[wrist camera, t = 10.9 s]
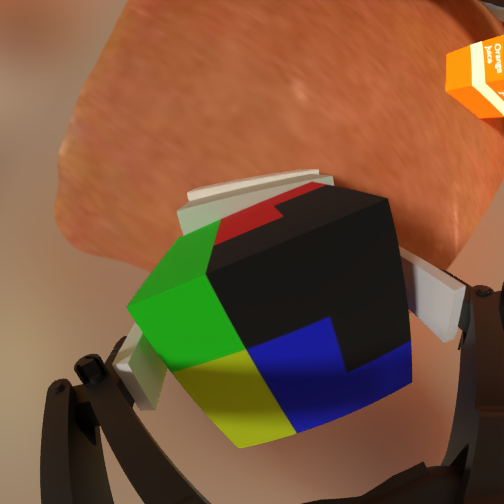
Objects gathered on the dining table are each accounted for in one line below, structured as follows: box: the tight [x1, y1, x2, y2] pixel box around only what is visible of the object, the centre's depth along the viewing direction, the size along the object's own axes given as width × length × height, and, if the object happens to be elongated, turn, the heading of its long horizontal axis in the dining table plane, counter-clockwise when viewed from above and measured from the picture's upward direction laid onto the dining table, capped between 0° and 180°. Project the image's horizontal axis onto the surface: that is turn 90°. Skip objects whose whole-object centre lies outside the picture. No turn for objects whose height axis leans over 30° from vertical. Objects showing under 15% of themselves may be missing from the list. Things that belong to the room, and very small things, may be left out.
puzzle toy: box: [127, 182, 412, 448], centre depth 15 cm, size 10×10×10 cm
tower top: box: [177, 174, 334, 236], centre depth 22 cm, size 11×11×6 cm
